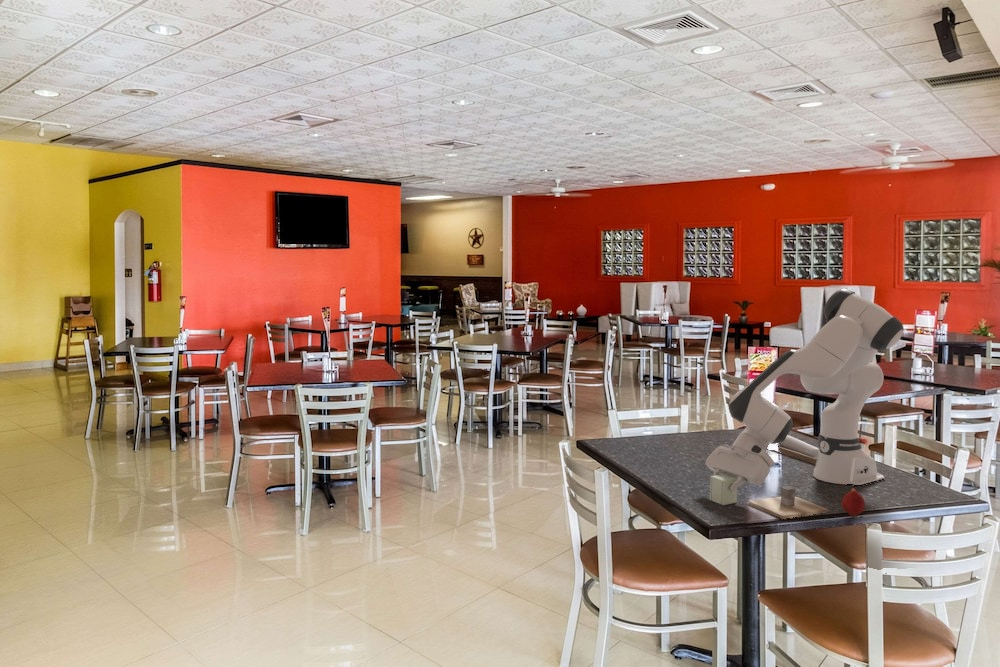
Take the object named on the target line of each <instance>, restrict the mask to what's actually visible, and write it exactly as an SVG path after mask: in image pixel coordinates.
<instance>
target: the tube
mask: <svg viewBox="0 0 1000 667" xmlns="http://www.w3.org/2000/svg"><path fill="white" fill-rule="evenodd" d="M778 446H780V447H782V448H786V449H789V450H792V451H795V452H798V453H801V454H804V455H808V456H811V457H814V458H817V454H818V449H819V447H817V446H814V445H812V444H810V443H807V442H805V441H803V440H800V439H799V438H796V437H793V435H792V436H791V435H789V434H788V435H787V437H786V438H785V440H784V441H783V442H782V443H779V445H778Z"/></svg>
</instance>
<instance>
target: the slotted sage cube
mask: <svg viewBox="0 0 1000 667" xmlns="http://www.w3.org/2000/svg"><path fill="white" fill-rule="evenodd" d="M709 479H710V481H709V482H710V484H709V500H710V501H712V502H714V503H716V504H719V505H722V506H726V505H730V504H736V503H738V488H737V489H736V490H735V492H733V491H730V490H729V489H728V486H729V485H730V483H734V482H735V481H737V478H735V477H732V476H729V475H726V474H720V475H715V476H714V475H710V477H709Z"/></svg>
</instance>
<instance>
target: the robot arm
mask: <svg viewBox="0 0 1000 667" xmlns="http://www.w3.org/2000/svg"><path fill="white" fill-rule="evenodd" d="M824 304H825V305H824V307H823V315H824V318H825V324H824V325H823V326H822V327H821V328H820V329H819V330H818V332H817V333H815V335H814V336H813V337H812V338H811V340H810V341H809V342H808V343H807V344H806V345H804V346H803V347H801V348H798V349H792V348H791V349H789V350H786V351H785V352H784V353H782V354H781V355H780V356H778V357H777V358H776V359H775V360H774V361H773V362H772V363H770V364H769V365H768V366H767V367H766V368H765V369H764V370H763V371H761V372H760V373H759V374H758V375H757V376H756V377H755V378H754V379H753V380H752V381H751V382H749V383H748V384H747V385H746V386H745V387H743V388H742V389H740V390H738V391H737V392H736V393H735V394H734V395H733V396H731V399H730V400H729V403H728V405H727V407H728V411H729V414H730V416H731V418H733V419H735V420H736V421H738V422H740V423H741V424H743V425H745V426H746V427H745V428H744V429H743V430H742V432H740V433H739V435H738V436H737V438H736V439H735V440H734V442H733V443H732V445H729V444H726V443H725V444H721V445H719V446H717V447H716V448H715V449H713V451H712V452H711V454H710V455H709V456H708V457H707V458H706V460H705V465H706V466H707V468H708V469H709V470H710V471H713V476H715V475H720V474H726V475H729V476H732V477H735V478H737V481H735V482H734V483H730V485H729V486H728V489H729V490H730V491H733V492H735V490H736V489H737V490H738V488H741V486H744V485H745V483H749V484H752V485H755V486H760V485H762V484H763V483H764V482H765V480H766V478H768V475H769V474H770V471H771V468H772V467H774V465H775V461H774V460H773V458H772V457H771V455H770V454H769V453H768V452H767V450H768V449H767V447H768V445H769V444H773V445H777V444H776V443H782V442H783V441H784V440H785V438H786V437H787V435H789V433H790V432H791V430H792V429H793V427H794V426H793V425H794V424H793V419H792V417H791V416H790V415H789V414H788V413H787V412H785V410H784V409H783V408H782V407H781V406H779V405H777V404H775V403H772V402H770V401H769V400H767V399H766V398H765V397H764V396H762V392H763V391H764V390H765V389H767V388H768V387H769V386H770V385H771V384H772V383H773V382H774V381H775V380H777V379H778V378H779V377H781V376H783V375H785V374H793V375H794V374H795V375H798V376H799V377H800V383H801V385H802V387H803V388H804V389H805V391H807V392H810V393H813V394H814V393H815V394H819V395H838V396H837V398H836V400H835V401H834V402H832V403H831V404H829V405H827V406H825V407H824V409H823V410H822V412H821V413H820V415H821V416H820V432H819V434H818V442H817V445H818V448H819V449H818V454H817V460H816V464H815V467H814V468H813V474H812V476H813V477H814V478H815V479H817V480H820V481H822V482H825V483H831V484H836V485H837V484H838V485H847V484H854V485H860V484H864V483H868V482H871V481H875V480H879V479H882V478H885V476H884V475H883V474H881V473H879V472H878V471H877V470H878V469H877V462H876V460H875V459H874V458H873V457H872V456H871V455H870V454H868V452H866V451H865V450H864V449H862V445H867V443H868V442H869V441H868V439H867V438H865V437H862V436H861V437H858V433H859V421H860V415H861V412H862V409H863V408H864V406H865V404H866V403H867V401H868V400H869V398H870V397H871V396H872V395H874V394H875V393H876V392H878V391H879V390H880V389H881V387H882V386H883V384H884V381H885V380H884V372H883V370H882V367H880V365H879V364H878V363H876V362H874V361H873V360H874V358H875V357H876V355H877V353H878V351H879V352H882V351H883V352H884V351H888V350H890V349H891V348H893V347H894V346H896V345H897V343H899V341H900V340H901V338H902V334H903V333H904V331H905V330H904V325H903V323H902V321H901V320H900V319H898V318H897V317H896V316H895V315H894V316H893V315H892V314H891V313H890V312H889V311H887V310H886V309H885V308H883V307H882V306H880V305H878V304H877V303H875V302H873V301H870V300H869V299H867V298H865V297H863V296H861V295H859V294H857V293H856V292H855V291H853V290H850V289H847V288H841V289H837V290H836V291H835V292H833V293H832V294H831V295H830V296H829V297H828V299H826V302H825V303H824ZM872 361H873V362H872ZM854 485H853V486H854Z"/></svg>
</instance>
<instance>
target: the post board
mask: <svg viewBox="0 0 1000 667" xmlns="http://www.w3.org/2000/svg"><path fill="white" fill-rule="evenodd" d="M780 489H781V490H780V496H776V497H773V496H772V497H769V498H760V499H753V500H752V499H751V500H748V503H747V504H748V505H749V506H751V507H753V508H756V509H758V510H760V511H763V512H765V513H766V514H769V513H770V514H769V515H771V514H772V516H774V515H775V516H774V517H776V516H777V517H776V518H778V517H780V518H782V519H781V520H783V519H784V520H787V519H786V518H790V519H795V517H797V518H802V517H808V516H809V515H810V516H814V515H813V514H816V515H820V514H819V513H823V512H828V513H829V510H828V508H826V507H823V506H822V505H821V506H820V505H818V504H816V503H813V502H811V501H808V500H806V499H803V498H801V497H798V496H796V488H794V487H791V486H782V487H781V488H780ZM823 514H824V513H823ZM801 516H802V517H801ZM793 517H794V518H793ZM780 518H779V519H780Z"/></svg>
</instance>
